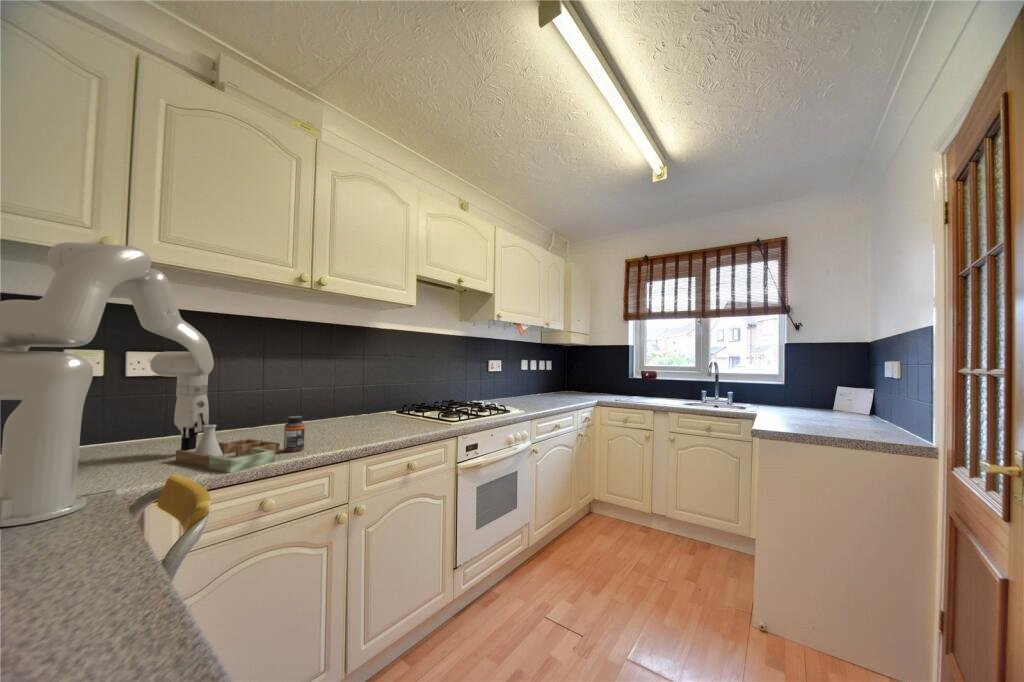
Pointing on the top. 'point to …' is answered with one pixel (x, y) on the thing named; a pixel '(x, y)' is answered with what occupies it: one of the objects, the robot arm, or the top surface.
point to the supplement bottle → (294, 434)
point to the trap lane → (256, 448)
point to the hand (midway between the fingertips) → (188, 449)
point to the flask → (209, 442)
